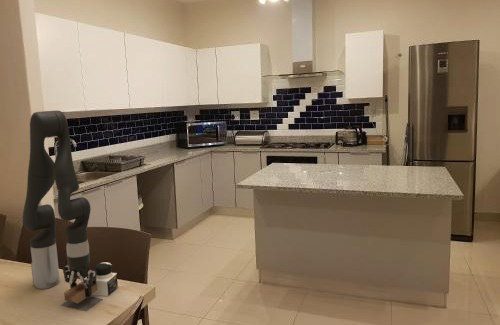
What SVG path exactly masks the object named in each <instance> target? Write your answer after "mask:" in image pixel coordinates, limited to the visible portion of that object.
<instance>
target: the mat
mask: <svg viewBox="0 0 500 325" xmlns="http://www.w3.org/2000/svg"><path fill="white" fill-rule="evenodd" d="M103 300H104V298H99V297H95V296H89V297H87V298H85V299H84V300H82V301H81V302H79V303H74V302H70V301H66V300H65V302H63V303H61V304H60V306H62V307H66V308H70V309H74V310H79V311H82V312H88V311H89V310H90V309H92V308H93V307H95V306H96V305H97V304H99V303H101V302H102V301H103Z"/></svg>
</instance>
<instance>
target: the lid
mask: <svg viewBox="0 0 500 325" xmlns="http://www.w3.org/2000/svg"><path fill="white" fill-rule="evenodd" d="M92 283H93V282H92ZM87 284H88V282H87ZM91 288H92V294H91V295H93V293H94V292H96V291H97V283H96V285H94V286H93V287H91ZM63 294H64V295H63V296H64V301H65V302H66V301H70V302H74V303H79V302H81V301H82V300H84V299H85V298H87V297H86V295H85V286H84V284H83V283H82V282H81V281H80V282H79V283H78V284H77V285H76V286H74V287H73V288H69V289H67V290H66V291H64V293H63Z"/></svg>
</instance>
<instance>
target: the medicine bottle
mask: <svg viewBox="0 0 500 325" xmlns="http://www.w3.org/2000/svg"><path fill="white" fill-rule="evenodd" d="M112 265H113V264H111V262H100V263H97V264H96V265H95V267H94V268H95V269H94V270H96V271H97V277H96V283H97V291H96V292H94V293H93V294H92V295H95V296H103V297H109V296H110V295H112V294H113V293H114V292H115V291H116V290H117V289H118V288H119V287H118V273H117V272H113V268H112Z"/></svg>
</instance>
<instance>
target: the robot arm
mask: <svg viewBox="0 0 500 325" xmlns="http://www.w3.org/2000/svg"><path fill="white" fill-rule="evenodd" d="M54 137H56V138H57V140H58V141H57V142H58V150H57V154H56V158H55V161H54V159H52V157H51V156H50V154H49V153H48V152H47V150H46V148H45V140H46V138H54ZM29 143H30V144H29V161H28V169H27V184H26V195H25V201H24V205H23V206H24V207H23V212H22V224H23V228H24V229H25V230H26V231H29V232H33V231H37V230H40V231H39V233H37V234H36V235H34V236H33V237H31V239H30V240H29V244H30V254H31V255H30V256H31V263H30V268H31V276H32V284H33V286H34V287H35V288H36V289H38V290H40V289H41V290H44V289H50V288H52V287H55V286H57V285H58V284H60V280H61V279H60V270H59V269H60V268H59V261H58V260H59V259H58V249H57V240H56V237H57V227H56V215H55V214H56V213H55V209H54V207H53V206H52V205H51V204H48V203H47V204H41V205H40V202H41V201H42V200H43V199H44V197H45V196H46V195H47V194H48V193H49V192H50V190H51V189H52V187H53V185H54V184H55V185H56V189H57V203H58V204H57V213H58V215H59V217H60V218H61V220H63V221H66V222H69V221H73V220H74V221H73V222H72V223H70V224H69V225H67V226H66V228H65V240H66V247H65V248H66V262H67V265H65V266H63V267H62V272H63V277H64V281H65V283H68V285H69V286H70V288H69V289H71V288H73V287H74V286H76V285H77V280H80V283H81V282H82V283H83V284H84V286H85V295H86V297H89V296H91V295H93V294H92V288H91V287H93V286H94V285H96V277H97V271H96V270H95V269H94V270H92V269H91V268H90V263H91V258H90V244H89V241H88V240H89V239H88V225H89V220H90V215H91V210H92V208H91V204H90V201H89V200H88V199H87V198H86V197H82V196H81V197H76V198H72V199H71V195H72V194H73V193H76V191H78V190H79V189H80V184H79V181H78V177H77V174H76V170H75V166H74V160H73V155H72V146H71V137H70V130H69V124H68V120H67V116H66V115H65V113H64V112H62V111H61V110H46V111H43V110H42V111H36V112H33V113H32V115H31V116H30V120H29ZM87 282H88V284H87ZM92 282H93V283H92ZM91 297H92V296H91Z"/></svg>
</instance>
